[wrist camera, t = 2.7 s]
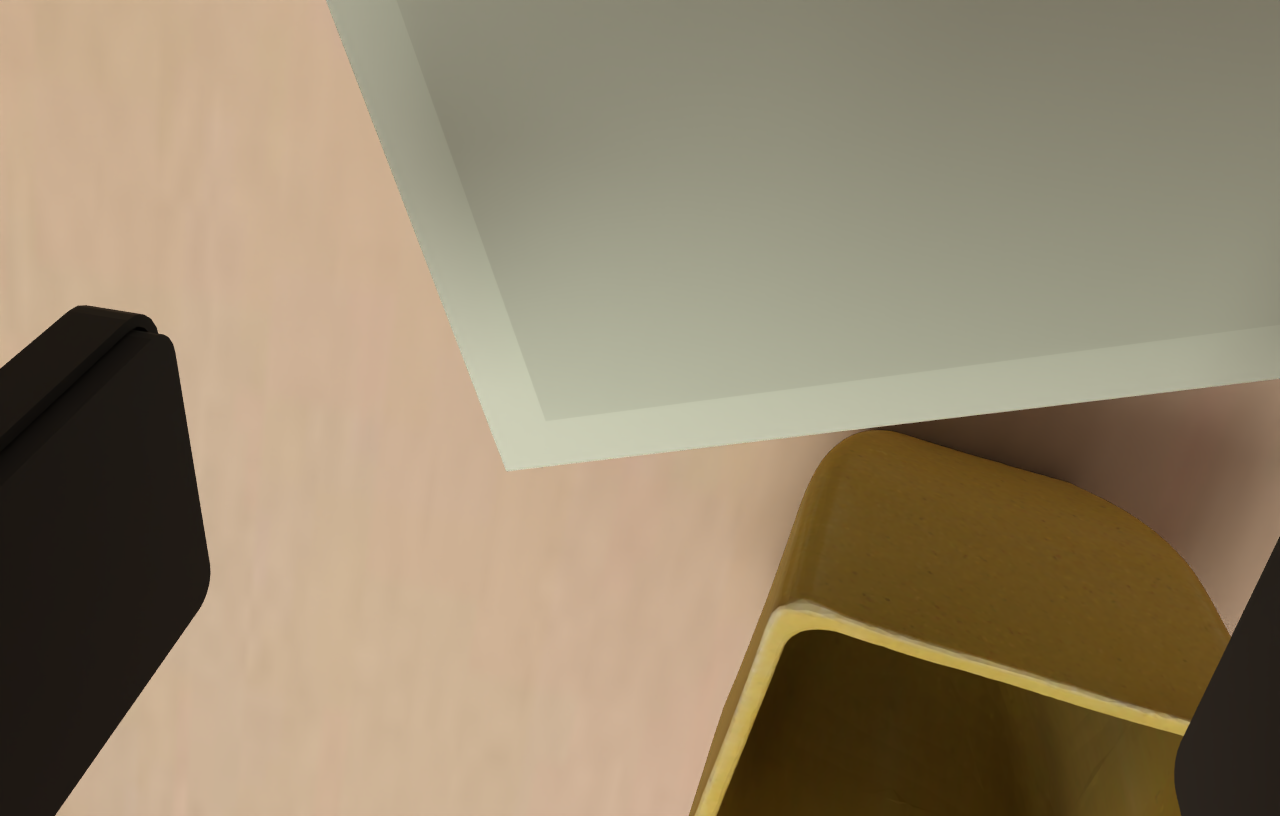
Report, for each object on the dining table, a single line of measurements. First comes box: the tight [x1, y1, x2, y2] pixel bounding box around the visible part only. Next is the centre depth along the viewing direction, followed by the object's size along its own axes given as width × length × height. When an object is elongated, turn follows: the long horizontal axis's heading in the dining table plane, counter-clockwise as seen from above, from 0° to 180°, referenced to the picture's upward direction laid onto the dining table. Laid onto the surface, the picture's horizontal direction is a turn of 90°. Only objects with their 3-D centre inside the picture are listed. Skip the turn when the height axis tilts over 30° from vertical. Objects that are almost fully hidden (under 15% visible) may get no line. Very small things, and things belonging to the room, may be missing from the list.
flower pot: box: [689, 430, 1231, 816], centre depth 26 cm, size 9×9×9 cm
